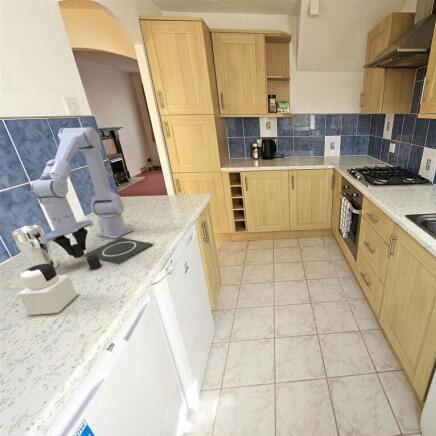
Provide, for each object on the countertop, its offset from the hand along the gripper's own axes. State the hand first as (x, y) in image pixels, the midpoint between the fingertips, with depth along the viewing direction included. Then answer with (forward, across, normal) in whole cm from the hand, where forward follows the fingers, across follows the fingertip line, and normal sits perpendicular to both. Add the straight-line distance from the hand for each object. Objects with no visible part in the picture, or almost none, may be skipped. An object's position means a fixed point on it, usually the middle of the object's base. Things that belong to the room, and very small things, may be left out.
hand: (77, 252), depth 83 cm
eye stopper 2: (+5, 0, -7) cm, 8 cm away
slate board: (+5, +11, -4) cm, 13 cm away
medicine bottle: (+5, -16, -15) cm, 23 cm away
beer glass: (+5, -6, +9) cm, 12 cm away
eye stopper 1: (+1, 0, 0) cm, 1 cm away
